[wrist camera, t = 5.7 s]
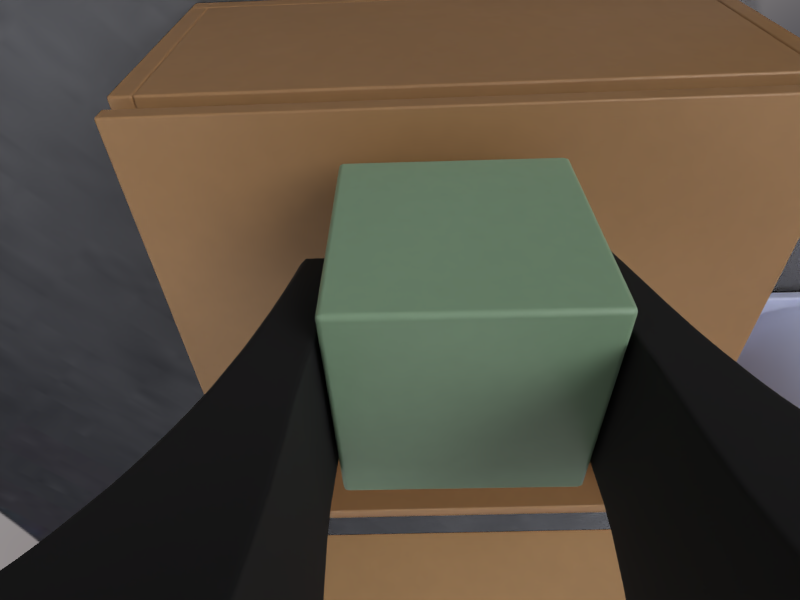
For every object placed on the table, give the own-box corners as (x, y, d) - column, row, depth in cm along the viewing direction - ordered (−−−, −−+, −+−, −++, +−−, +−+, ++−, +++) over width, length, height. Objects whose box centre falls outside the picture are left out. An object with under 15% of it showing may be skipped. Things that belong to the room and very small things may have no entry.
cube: (569, 155, 10) (642, 310, 7) (539, 323, 13) (583, 488, 10) (338, 161, 10) (312, 317, 7) (356, 327, 13) (343, 492, 10)
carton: (598, 377, 26) (651, 532, 21) (289, 385, 26) (260, 540, 21) (711, -18, 16) (880, 85, 10) (194, 2, 16) (88, 114, 10)
